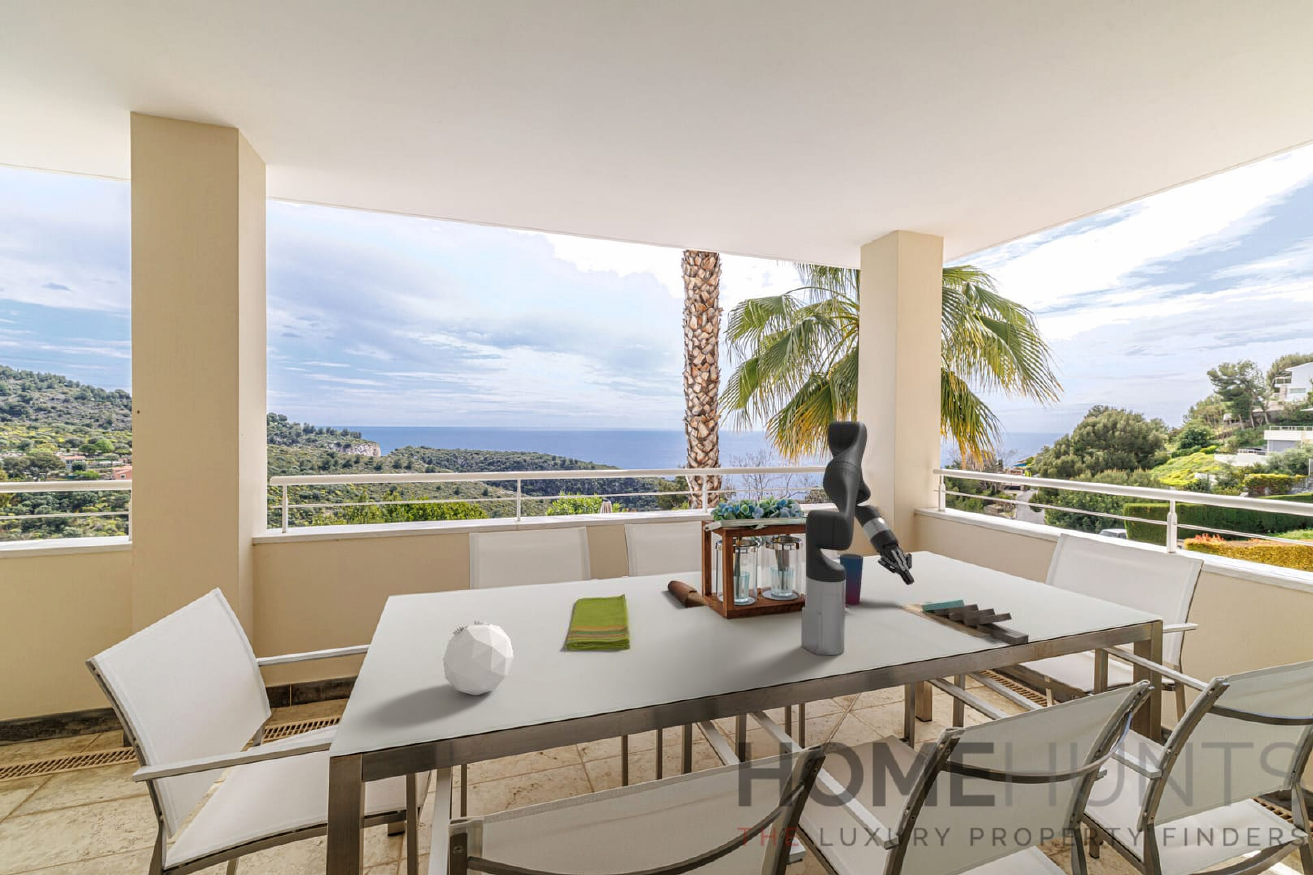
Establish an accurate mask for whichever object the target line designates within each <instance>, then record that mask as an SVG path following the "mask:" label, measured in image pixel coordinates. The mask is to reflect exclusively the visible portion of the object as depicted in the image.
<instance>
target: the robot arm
mask: <svg viewBox="0 0 1313 875" xmlns="http://www.w3.org/2000/svg"><path fill="white" fill-rule="evenodd" d="M826 435H827V436H826V437H827V446H828V448H829V451H830V453H831V456H832V459H831V460H829V462H828V463H827V465H826V466H825V470H824V475H823V479H822V488H823V491H824V492H825V495H826V497H828V498H829V500H830V501H831V502H832V504H833V505H834V506H836V509H837V510H838V511H831V510H818V509H813V510H810V511H808V513H807V515H806V519H805V552H806V554H805V558H806V559H805V561H806V562H805V567H806V568H805V600H804V601H805V603H804V604H805V605H804V606H803V607H802V608H801V637H800V638H801V641H800V642H801V643H800V646H801V647H803V648H805V649H806V650H809V651H810V652H811V653H814V654H815V655H816V656H817V655H818V656H821V655H825V656H826V655H827V656H835V655H836V656H837V655H841V654H843V653H844V652H845V636H846V635H845V631H846V630H845V629H846V624H845V623H846V607H845V606H846V604H845V591H846V570H845V567H844V566H843V565H841V564H840V562H837V561H835V560H833V559H831V558H829V557H828V556H827V555H825V554H824V553H823V551H822V550H827V551H839V552H840V551H848V550H849V549H850V548H851V545H852V543H853V539H854V531H855V519H856V520H857V522H858V524H859V525H860V526H861V528H862V530H863V531H864V534H865V536H866V537H867V539H868V541H869V542H870V544H871V546H872V547H873V549H874V550H875V552H876V554H878V555H879V556H880V558H879V559H878V560H877V563H878V564H879V565H881V566H882V567H883V568H885V569H886V570H888V571H889V572H890V573H891V574H897V575H899V577H900V578H901V579H902V581H903V583H904V584H905V585H906V586H911V585H912V584H914V583H915V579H914V576H913V575H912V574H911V572H910V571H909V570H911V569H912V567H913V554H912V553H911V552H908V553H906V552H904V550H903V549H902V548H901V547H900V546H899V540H898V539H897V537H896V535H895V534H894V532H893V530H892V529H891V528H890V526H889V524H888V523H887V522H886V521H885V519H884V518H883V517H882V515H881V514H880V512H879V511H878V509H877V508H876V507H875V505H873V504H865V505H860V504H862V503H864V502H867V501H868V500H870V498H871V496H872V494H871V493H872V492H871V490H870V489H871V488H869V486H868V485H867V484H866V482H865V480H864V476H863V469H862V461H863V457H864V454H865V450H866V447H867V443H868V442H867V441H868V429H867V426H866V425H865V423H864V422H862V421H859V420H858V421H856V420H844V421H842V420H841V421H839V420H838V421H832V422H830V423H829V424H828V427H827V434H826Z"/></svg>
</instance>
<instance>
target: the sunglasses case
mask: <svg viewBox="0 0 1313 875" xmlns="http://www.w3.org/2000/svg"><path fill="white" fill-rule="evenodd" d="M667 590H668V591H669V592H670V593H671V594H673V595H674V596H675V597H676V599H677V600H679V601H680V603H681V604H682V605H683V606H684V607H686V608H697V607H708V606H710V605H709V602H707V600H706V599H705V598H704V596H702V595H701V593H699V592H698V590H697V589H696V588H694V587H693V586H690V585H689V584H686V583H684V582H682V581H679V580H671V581H670V582H669V583H668V584H667Z"/></svg>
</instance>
